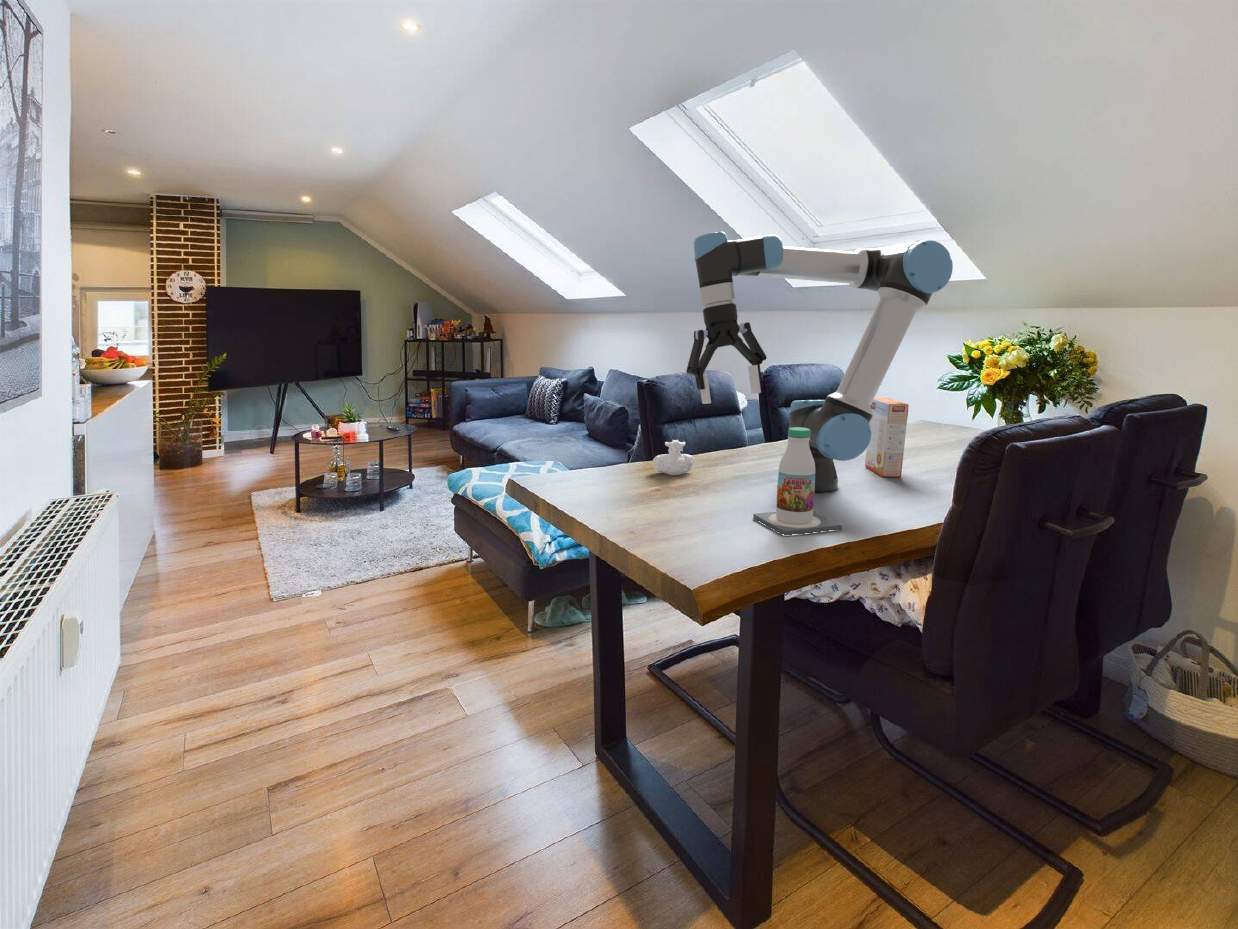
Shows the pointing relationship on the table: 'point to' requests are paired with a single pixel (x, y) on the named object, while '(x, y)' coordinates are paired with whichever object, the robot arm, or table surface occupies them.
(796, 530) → the slate board
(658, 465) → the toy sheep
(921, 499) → the table surface
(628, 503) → the table surface
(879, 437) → the cracker box
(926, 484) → the table surface
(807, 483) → the milk bottle
